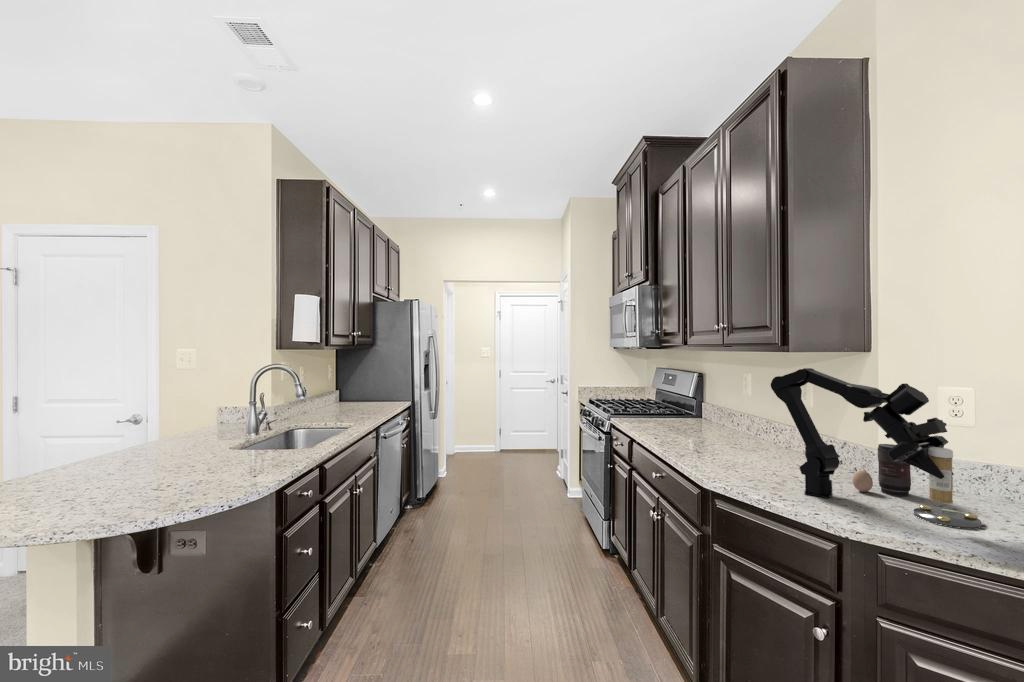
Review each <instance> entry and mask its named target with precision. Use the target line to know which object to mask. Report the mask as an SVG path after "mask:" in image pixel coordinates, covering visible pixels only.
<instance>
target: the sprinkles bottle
mask: <svg viewBox="0 0 1024 682" xmlns="http://www.w3.org/2000/svg"><path fill="white" fill-rule="evenodd" d="M928 454H929V458H930V459H931V460H932V461H933V462H934V464H935V465H936V466H937V467H938V468H939V470H940V471H941V472H942V473H943V475H944V476H945V477H944V478H942V479H939V478H937V477H935V476H933V475H931V474H929V473H928V488H929V496H928V500H930V501H932V502H933V503H939V504H944V505H950V504H951V505H952V504H954V500H953V491H954V489H953V488H954V484H953V483H954V481H953V480H954V478H953V476H952V472H953V460H954V459H953V458H954V451H953V450H952V449H950V448H947V447H946V448H945V447H944V448H940V447H929V448H928Z"/></svg>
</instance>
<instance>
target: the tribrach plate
mask: <svg viewBox="0 0 1024 682" xmlns="http://www.w3.org/2000/svg"><path fill="white" fill-rule="evenodd" d="M918 506H919V507H917V508H914V509H913V515H914V516H915V517H916V516H917V517H916V518H918V517H919V518H918V519H920V518H921V519H920V520H922V519H924V520H926V521H925V522H927V521H930V522H929V523H931V522H933V523H932V524H934V523H937V524H936V525H938V524H942V525H941V526H943V525H947V526H946V527H948V526H952V527H951V528H954V527H960V528H959V529H962V528H977V529H980V528H982V526H983V525H982V520H980V519H979V518H978V517H979V516H978V515H977V514H974V513H970V512H969V513H968V512H966V513H963V512H960V511H956V510H952V509H947V508H937V507H931V506H930V505H925V504H919V505H918ZM924 520H923V521H924ZM979 527H980V528H979Z"/></svg>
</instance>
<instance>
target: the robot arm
mask: <svg viewBox="0 0 1024 682" xmlns="http://www.w3.org/2000/svg"><path fill="white" fill-rule="evenodd" d="M808 383H810V384H811V385H814V386H817V387H819V388H821V389H824V390H826V391H829V392H831V393H834V394H837V395H838V396H841V397H842V398H843V399H844V400H845V401H846V402H847V403H848V404H849V403H850V404H851V405H853V406H854V407H856V408H858V409H869V408H871V409H872V408H873V409H872V410H870V411H864V412H863V419H862V420H863V422H864V423H867V422H872V421H874V422H875V424H877V425H878V427H880V429H882V430H883V432H885V434H884V436H885V438H886V439H892V440H893V441H894V443H896V444H894V445H895V446H894V447H892V448H891V449H889V450H888V456H889V457H890V458H891V459H892V460H893V461H899V460H901V458H900V457H902V456H904V455H905V457H906V459H905V460H903V462H904V463H908V464H910V466H912V467H915V468H917V469H919V470H922V471H923V472H925V473H927V474H928V475H929V474H931V475H933V476H935V477H937V478H939V479H942V478H944V477H945V476H944V475H943V473H942V472H941V471H940V470H939V468H938V467H937V466H936V465H935V464H934V462H933V461H932V460H931V459H930V458H929V454H928V448H929V447H940V448H945V445H947V444H948V443H949V440H947V439H946V438H945V437H944V436H942V435H937V434H943V433H947V432H948V430H947V428H946V426H947V423H946V422H944V421H943V419H939V418H938V417H932V418H928V419H927V420H926V422H923V423H918V424H917V423H915V422H913V421H907V419H905V417H903V416H902V415H905V416H911V415H912V414H914V413H915V412H916V411H917V410H919V409H921V408H922V407H923V406H925V405H926V404H927V403H929V402H930V400H929V397H928V396H927V395H926V394H925V393H924V392H923V391H920V390H919V389H917V388H915V387H913V386H910V385H909V384H908V383H901V384H899V386H898V387H897V388H896V389H895V390H893V391H892V392H890V393H885V392H882V390H881V389H879V388H877V387H872V386H867V385H862V384H855V383H850V382H847V381H845V380H842V379H839V378H836V377H834V376H831V375H828V374H826V373H823V372H820V371H817V370H815V368H811V367H805V368H803V367H802V368H800V369H798V370H796V371H794V372H791V373H787V374H784V375H782V376H780V375H779V376H775V377H774V378H772V380H771V382H770V388H771V390H772V391H773V393H774V394H775V396H776V397H777V398H778V399H779V400H781V401H782V402H783V403H784V404H785V406H786V408H787V410H788V412H789V414H790V417H791V418H792V420H793V422H794V425H795V426H796V428H797V430H798V432H799V434H800V436H801V438H802V441H803V442H804V445H805V449H804V450H805V451H804V452H805V453H804V455H805V458H806V461H805V462H804V463H803V464H802V465H800V466H799V470H800V474H801V475H804V484H805V485H804V486H805V491H804V495H808V496H809V495H810V496H814V497H820V498H827V499H830V498H831V496H832V495H833V480H832V479H831V478H830V477H831V476H830V475H834V474H835V471H836V470H837V469H838V468H839V466H840V464H841V463H840V461H841V460H840V459H839V458H840V457H841V456H840V455H839V454H838V453H837V451H836V448H835V446H834V445H833V443H831V444H827V443H825V442H824V441H823V439H822V437H821V435H820V433H819V431H818V429H817V427H816V425H815V423H814V422H813V419H812V417H811V415H810V413H809V411H808V410H807V408H806V405H805V403H804V401H803V400H802V393H803V391H802V387H803V386H805V385H807V384H808ZM882 404H884V405H883V406H882ZM954 475H955V473H954V472H953V471H952V477H953V476H954Z"/></svg>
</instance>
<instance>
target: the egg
mask: <svg viewBox="0 0 1024 682" xmlns="http://www.w3.org/2000/svg"><path fill="white" fill-rule="evenodd" d="M852 484H853V487H854V488H856V490H858V491H859V492H862V493H867V492H869V491H871V489H873V486H874V482H873V478H872V476H871V475H870V473H869V472H867V470H862V469H859V470H857V471H856V472H854V474H853V476H852Z"/></svg>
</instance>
